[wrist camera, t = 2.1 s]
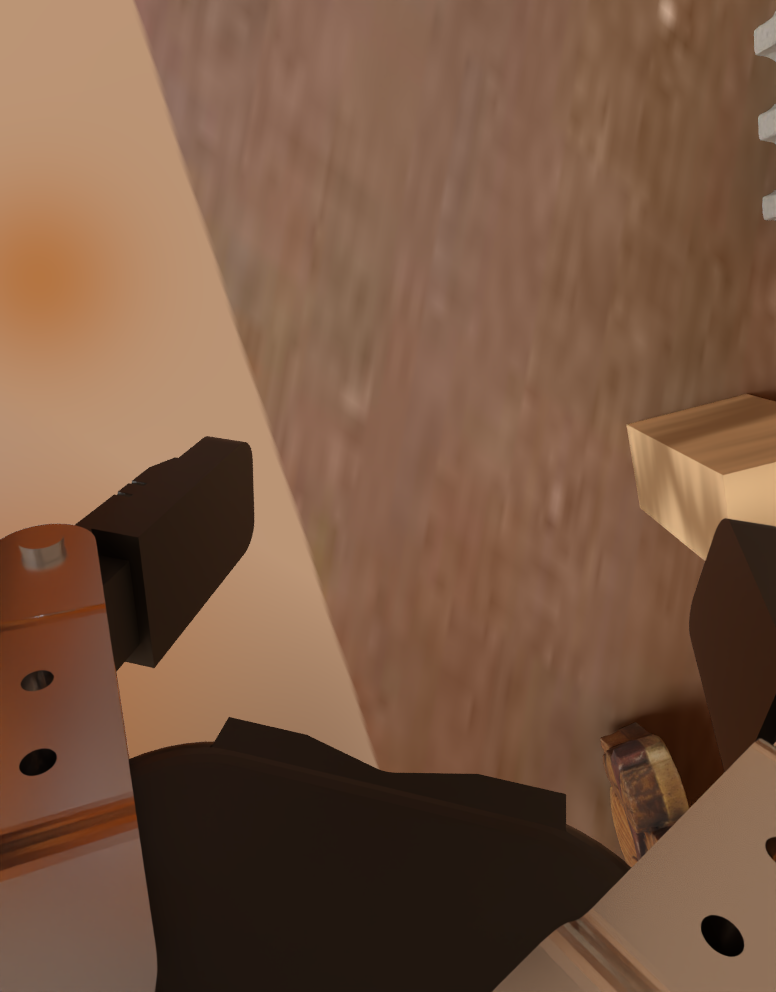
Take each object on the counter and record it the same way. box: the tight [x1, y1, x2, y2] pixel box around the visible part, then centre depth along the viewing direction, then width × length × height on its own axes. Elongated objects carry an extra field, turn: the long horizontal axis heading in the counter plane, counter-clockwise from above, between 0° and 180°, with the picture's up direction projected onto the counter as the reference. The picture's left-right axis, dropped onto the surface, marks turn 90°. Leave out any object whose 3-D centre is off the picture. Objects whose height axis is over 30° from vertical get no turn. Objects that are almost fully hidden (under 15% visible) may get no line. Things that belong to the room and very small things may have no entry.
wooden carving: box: [600, 723, 689, 868], centre depth 36 cm, size 16×5×10 cm, turn 23°
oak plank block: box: [626, 394, 776, 561], centre depth 30 cm, size 4×6×10 cm
